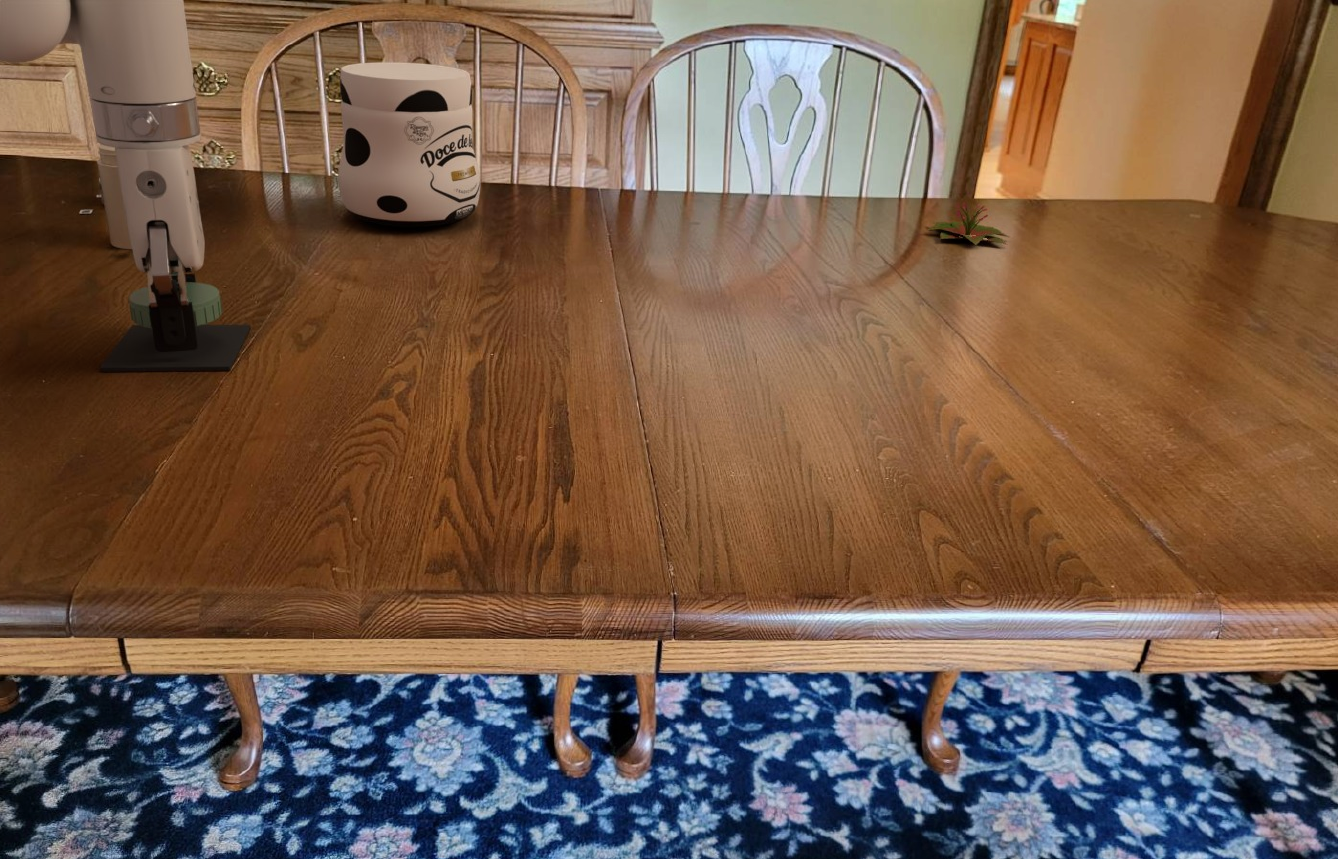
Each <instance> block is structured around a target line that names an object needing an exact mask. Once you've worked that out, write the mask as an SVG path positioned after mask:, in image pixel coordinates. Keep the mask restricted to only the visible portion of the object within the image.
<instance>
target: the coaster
mask: <svg viewBox="0 0 1338 859" xmlns="http://www.w3.org/2000/svg"><path fill="white" fill-rule="evenodd" d="M250 330H251V324H203V325H199V326H196V333H197V340H198V347H197V349H195V350H187V351H172V352H158V351H157V350H156V348H155V343H154V336H153V330H152V328H148V327H144V326H140V325H138V324H132V325H131V326H130V327H129V329H127V331H126V332H125V334H124V336H123V337H122V338H121V339H120V340H119V341H118V343H117V344H116V345H115V347H114V348H113V350H112V351H111V352H110V353H109V354H108V356H106V359H104V361H103V362H102V363H101V365H100V366H99V373H124V372H125V373H126V372H129V373H133V372H137V373H138V372H139V373H141V372H230V371H231V370H232V368H233V365H234V363H235V361H236V359H237V357H238V355H239V354H240V351H241V349H242V347H243V345H244V343H245V341H246V339H247V337H248V335H249V333H250Z"/></svg>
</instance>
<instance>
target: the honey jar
mask: <svg viewBox="0 0 1338 859" xmlns="http://www.w3.org/2000/svg"><path fill="white" fill-rule="evenodd" d="M97 153H98V155H99V157H100V158H99V159H97V161H96V165H97V170H98V171H97V172H98V177H99V178H100V183H101V189H102V195H103V201H104V204H103V206H104V213H105V218H106V224H107V231H108V236H109V243H110V245H111V246H112V247H115V248H118V249H123V250H132V246H131V241H130V236H129V231H128V226H127V221H126V215H125V210H124V204H123V198H122V192H121V186H120V180H119V174H118V167H117V160H116V154H115V147H109V146H105V145H102V144H98V152H97Z"/></svg>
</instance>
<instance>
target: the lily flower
mask: <svg viewBox="0 0 1338 859" xmlns="http://www.w3.org/2000/svg"><path fill="white" fill-rule="evenodd" d="M962 205H963V207H962V206H961V205H960V204H959V203H956V204H955V206H957V207H958V208H960V209H961V211H962V212H963V213H964V215H965V216H966V217H965V216H963V215H962V213H961V211H960V209H957V213H956V216H957V217H959V218H961V220H962V222H961V221H960V222H959V221H955V220H953V221H952V222H947V221H931V223H932V224H934V225H932V226H930V228H925V231H942V232H941V233H940V238H939V239H940V240H943V239H946V240H947V239H959V238H958V237H959V235H958V234H960V236H961V235H962V234H965V235H970V234H971V235H976V236H972V237H969V236H965V235H963V236H962V237H965V238H960V239H963V240H969V241H970V242H972V243H973V244H974V245H975V246H977V245H978V244H979V243H980V241H983V240H982V239H983V238H987V239H988V241H987V240H984V241H986V242H993V243H997V244H1002V243H1003V244H1002V245H1007V246H1008V243H1006V242H1005V241H1004V239H1002V237H1006V238H1010V236H1009V235H1007V234H1006V233H1004V232H1002V231H1001V230H999V229H997V228H995V227H994V226H989V225H988V226H985V225H981V224H979V223H980V222H981V221H983V220H984V219H986V218H988V217H989V215H988V214H985V215H984V216H983V217H981V218H979V219H977V218H978V217H979V216H980V215H981V213H982V212H986V211H987V210H988V208H986V205H983V206H981V207H980V205H981V203H978V205H977V206H976V208H975V209H974V210H973V213H972V214H971V212H972V209H970V210H969V209H968V208H967V205H966V203H965V202H962ZM979 207H980V208H979ZM977 208H979V209H978V210H977ZM970 214H971V216H970ZM994 235H995V236H994ZM998 236H1001V237H998ZM998 242H1000V243H998Z"/></svg>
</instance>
